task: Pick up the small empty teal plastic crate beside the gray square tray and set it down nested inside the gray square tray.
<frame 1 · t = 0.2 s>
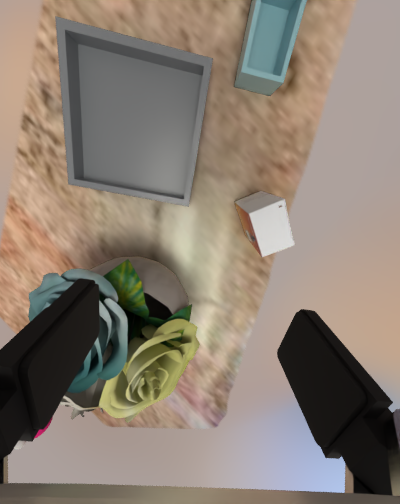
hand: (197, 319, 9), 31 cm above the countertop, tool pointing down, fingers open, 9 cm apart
flower arrangement: (145, 283, 44), on the countertop
gray square tray: (140, 132, 32), on the countertop
small crate: (261, 50, 28), on the countertop
small box: (252, 214, 39), on the countertop
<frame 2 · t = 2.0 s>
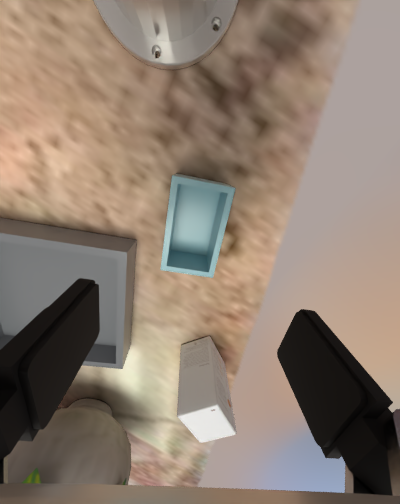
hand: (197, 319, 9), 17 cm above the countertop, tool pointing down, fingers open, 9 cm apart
flower arrangement: (92, 408, 40), on the countertop
gray square tray: (63, 291, 28), on the countertop
small crate: (194, 220, 24), on the countertop
small box: (203, 352, 35), on the countertop
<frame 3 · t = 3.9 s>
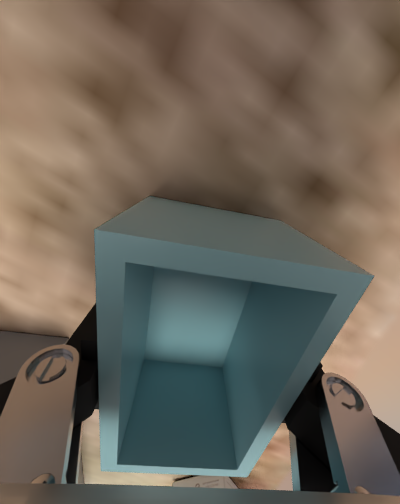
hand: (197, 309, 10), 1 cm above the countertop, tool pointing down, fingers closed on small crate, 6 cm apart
small crate: (197, 299, 10), on the countertop, touching gripper
small box: (211, 485, 21), on the countertop
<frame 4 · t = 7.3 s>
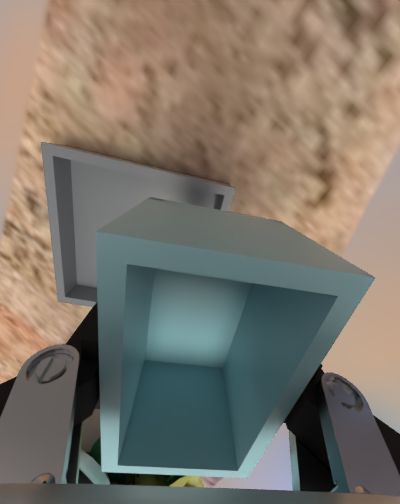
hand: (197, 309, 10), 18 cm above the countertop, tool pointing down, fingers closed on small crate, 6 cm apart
flower arrangement: (144, 372, 40), on the countertop
gray square tray: (143, 240, 27), on the countertop
small crate: (197, 299, 10), point 17 cm above the countertop, touching gripper
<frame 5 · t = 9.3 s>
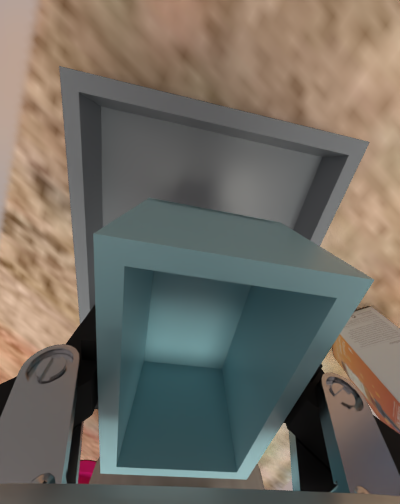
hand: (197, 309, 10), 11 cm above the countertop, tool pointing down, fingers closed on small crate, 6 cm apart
flower arrangement: (182, 405, 32), on the countertop
gray square tray: (197, 235, 20), on the countertop
small crate: (196, 300, 10), point 10 cm above the countertop, touching gripper
small box: (349, 331, 26), on the countertop
pepper mill: (89, 465, 40), on the countertop
when the fingers open (3 cm above the countertop, at t = 11.1 s): small crate drops 1 cm, resting on gray square tray.
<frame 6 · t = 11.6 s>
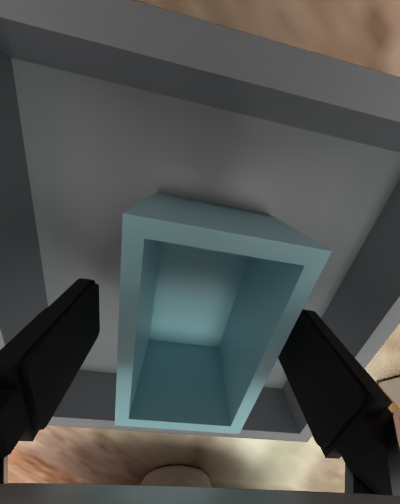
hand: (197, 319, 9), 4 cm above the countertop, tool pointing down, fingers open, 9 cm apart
flower arrangement: (177, 476, 25), on the countertop
gray square tray: (196, 276, 13), on the countertop
small crate: (196, 284, 12), point 1 cm above the countertop, touching gray square tray
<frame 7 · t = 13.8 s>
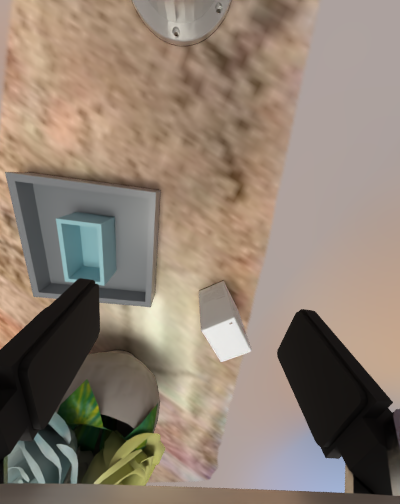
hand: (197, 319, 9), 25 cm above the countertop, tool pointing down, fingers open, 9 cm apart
flower arrangement: (121, 361, 45), on the countertop
gray square tray: (100, 241, 34), on the countertop
small crate: (97, 243, 33), point 1 cm above the countertop, touching gray square tray
small box: (218, 299, 39), on the countertop
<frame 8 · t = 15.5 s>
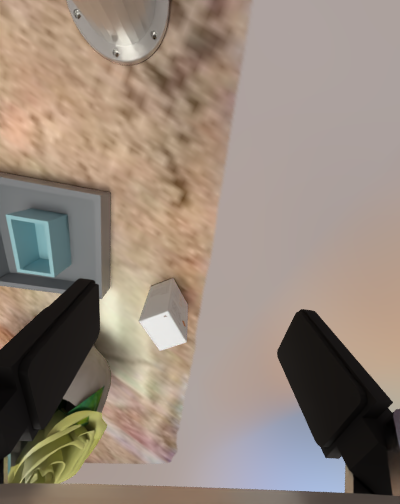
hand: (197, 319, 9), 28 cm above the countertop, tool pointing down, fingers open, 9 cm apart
flower arrangement: (81, 348, 48), on the countertop
gray square tray: (56, 236, 36), on the countertop
small crate: (52, 237, 35), point 1 cm above the countertop, touching gray square tray
small box: (170, 294, 43), on the countertop
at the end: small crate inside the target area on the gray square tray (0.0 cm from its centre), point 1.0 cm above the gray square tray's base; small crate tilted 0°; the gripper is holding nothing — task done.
